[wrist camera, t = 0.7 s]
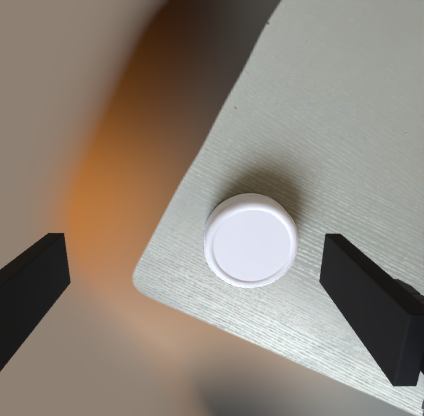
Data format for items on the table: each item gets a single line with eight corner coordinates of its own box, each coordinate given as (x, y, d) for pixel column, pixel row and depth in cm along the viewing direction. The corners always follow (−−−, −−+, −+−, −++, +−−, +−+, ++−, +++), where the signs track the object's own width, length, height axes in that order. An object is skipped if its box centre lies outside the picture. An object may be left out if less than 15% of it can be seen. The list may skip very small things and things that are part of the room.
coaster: (245, 173, 33) (250, 180, 29) (309, 230, 35) (320, 242, 32) (185, 238, 35) (183, 252, 31) (248, 289, 37) (253, 306, 34)
